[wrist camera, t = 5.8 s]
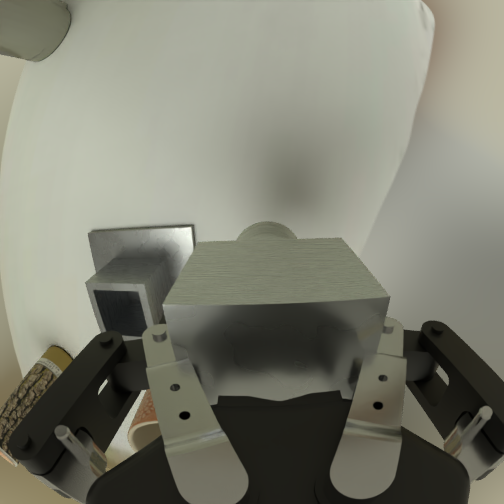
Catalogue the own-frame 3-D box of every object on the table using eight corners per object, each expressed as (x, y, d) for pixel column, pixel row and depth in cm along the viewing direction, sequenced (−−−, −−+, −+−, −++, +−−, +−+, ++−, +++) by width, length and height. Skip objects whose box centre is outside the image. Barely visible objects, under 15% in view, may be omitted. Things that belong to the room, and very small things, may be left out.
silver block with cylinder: (217, 210, 17) (162, 304, 7) (314, 208, 17) (390, 296, 7) (228, 332, 20) (210, 462, 10) (307, 329, 20) (336, 457, 10)
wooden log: (45, 341, 39) (-25, 429, 16) (70, 349, 39) (0, 449, 16) (56, 367, 42) (-2, 453, 18) (81, 375, 42) (24, 472, 18)
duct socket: (91, 230, 31) (55, 252, 24) (193, 225, 31) (172, 248, 23) (114, 323, 36) (90, 356, 29) (205, 328, 36) (194, 369, 28)
